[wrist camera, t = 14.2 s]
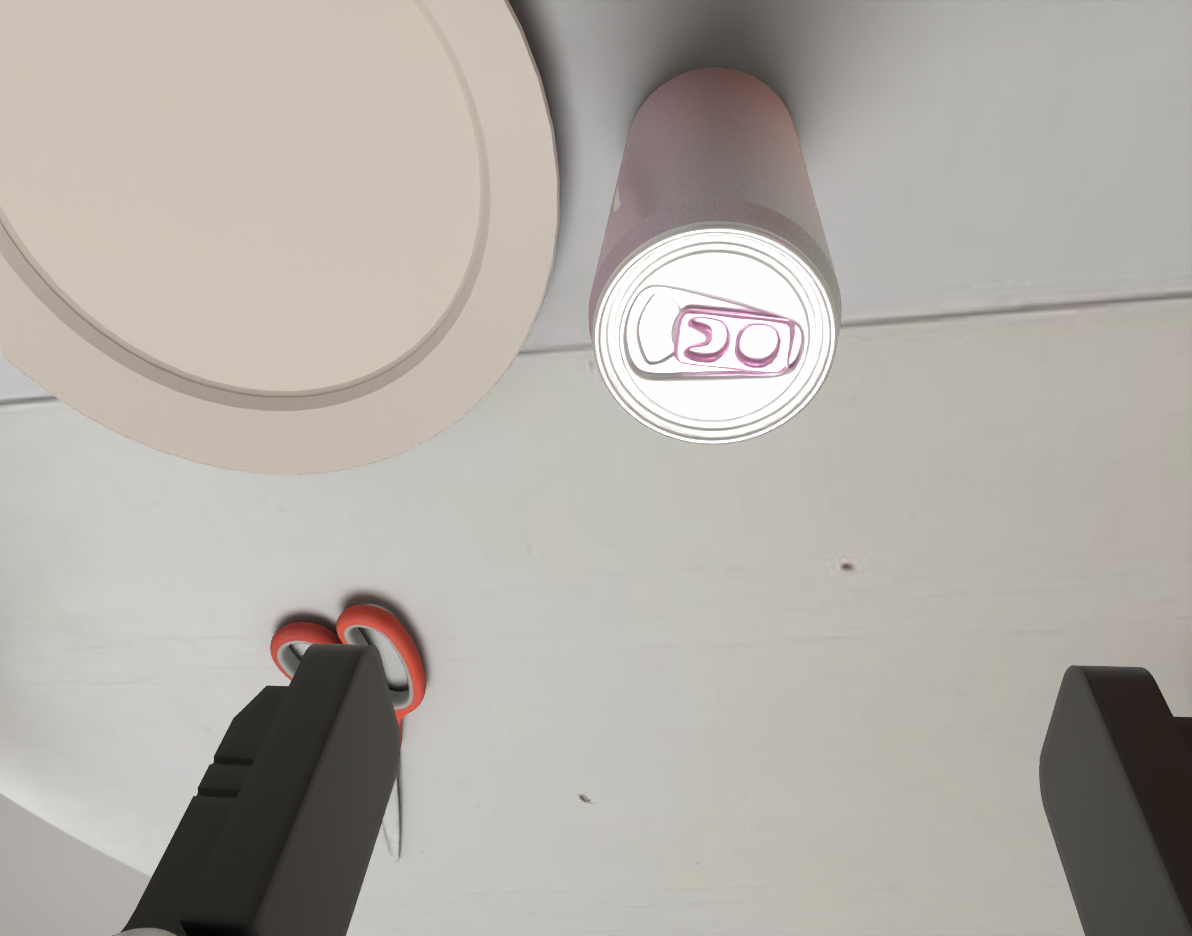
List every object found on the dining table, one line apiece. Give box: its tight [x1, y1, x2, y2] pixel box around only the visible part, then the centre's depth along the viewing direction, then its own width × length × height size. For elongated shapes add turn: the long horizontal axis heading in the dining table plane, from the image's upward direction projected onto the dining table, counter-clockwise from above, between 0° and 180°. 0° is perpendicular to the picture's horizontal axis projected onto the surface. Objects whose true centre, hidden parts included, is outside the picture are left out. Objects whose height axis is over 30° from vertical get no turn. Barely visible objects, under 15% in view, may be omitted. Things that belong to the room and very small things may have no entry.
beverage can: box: [589, 67, 841, 444], centre depth 29 cm, size 6×6×15 cm
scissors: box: [270, 605, 426, 863], centre depth 54 cm, size 8×21×2 cm, turn 12°
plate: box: [0, 0, 560, 475], centre depth 36 cm, size 26×26×2 cm
